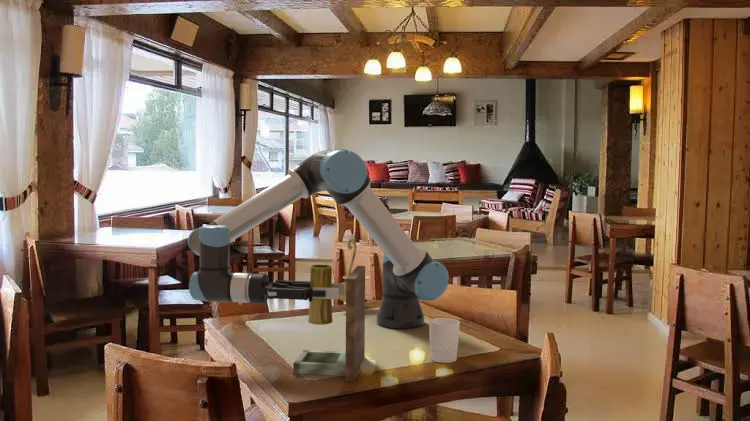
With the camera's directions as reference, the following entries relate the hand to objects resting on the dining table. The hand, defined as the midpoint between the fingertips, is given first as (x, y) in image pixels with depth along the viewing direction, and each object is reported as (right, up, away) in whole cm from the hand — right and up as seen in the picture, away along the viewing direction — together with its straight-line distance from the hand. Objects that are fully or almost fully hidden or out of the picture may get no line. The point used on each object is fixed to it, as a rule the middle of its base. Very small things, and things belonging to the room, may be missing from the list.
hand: (341, 291), depth 162 cm
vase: (-5, -8, +1) cm, 10 cm away
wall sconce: (+1, -14, +66) cm, 68 cm away
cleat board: (-3, -19, -2) cm, 19 cm away
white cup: (+26, -19, +6) cm, 33 cm away
